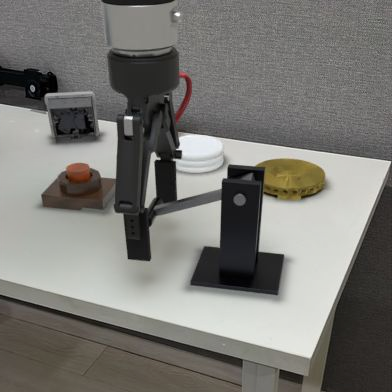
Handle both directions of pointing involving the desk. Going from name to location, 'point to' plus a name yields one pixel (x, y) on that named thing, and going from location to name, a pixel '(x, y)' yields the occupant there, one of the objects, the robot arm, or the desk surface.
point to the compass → (292, 178)
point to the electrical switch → (72, 116)
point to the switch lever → (187, 201)
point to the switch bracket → (240, 240)
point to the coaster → (199, 154)
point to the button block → (79, 192)
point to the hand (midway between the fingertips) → (154, 231)
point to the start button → (78, 172)
